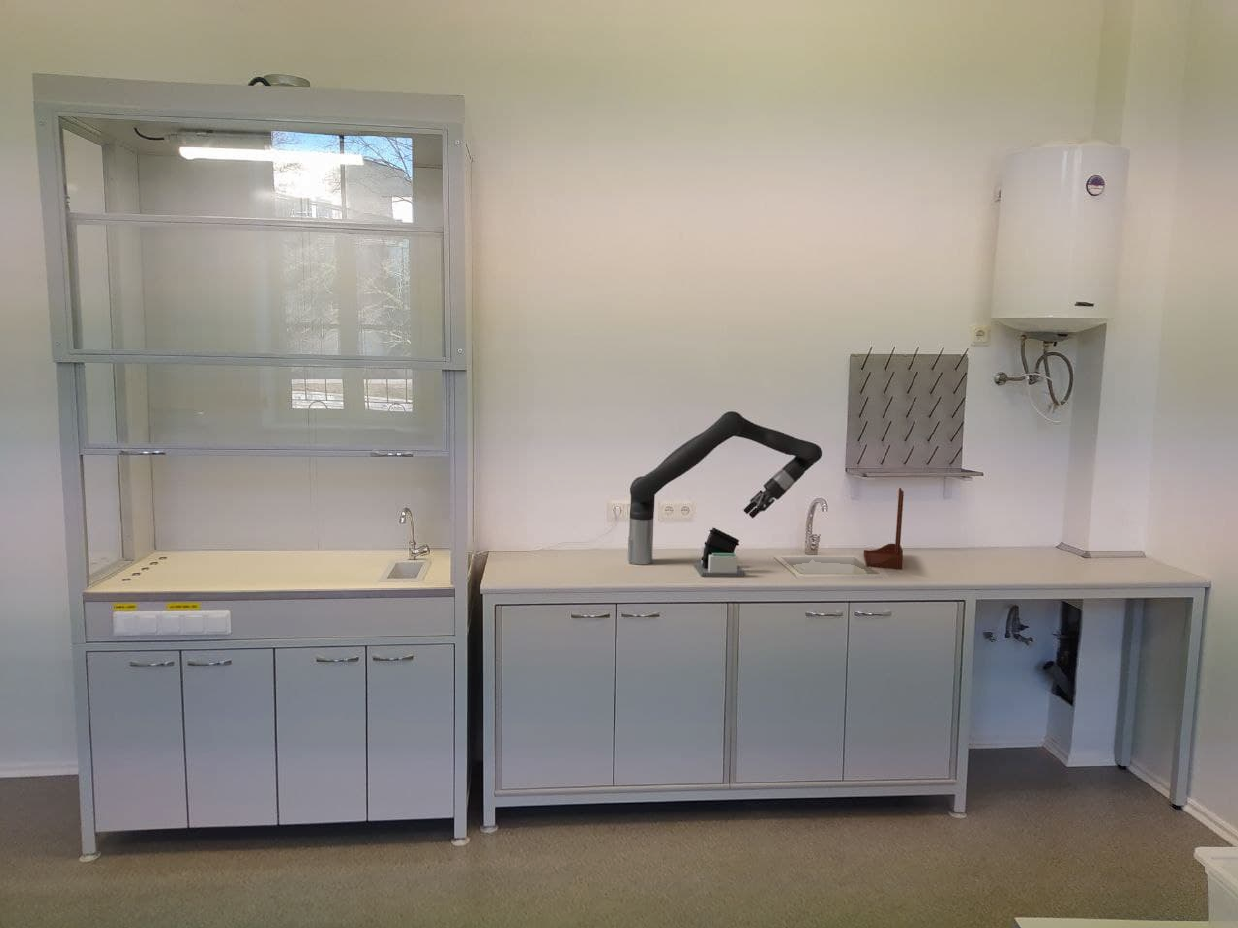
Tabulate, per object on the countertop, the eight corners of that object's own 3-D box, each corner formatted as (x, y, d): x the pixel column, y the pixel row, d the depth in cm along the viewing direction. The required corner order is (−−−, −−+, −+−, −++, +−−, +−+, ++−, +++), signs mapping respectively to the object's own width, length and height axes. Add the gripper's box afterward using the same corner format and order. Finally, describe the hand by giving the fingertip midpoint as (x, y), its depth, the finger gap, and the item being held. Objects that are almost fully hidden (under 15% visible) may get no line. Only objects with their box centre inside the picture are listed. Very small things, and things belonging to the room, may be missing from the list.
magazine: (693, 562, 288) (711, 526, 287) (723, 576, 290) (741, 541, 290) (696, 564, 284) (714, 528, 284) (726, 579, 287) (744, 543, 286)
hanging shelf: (863, 554, 325) (867, 483, 321) (896, 556, 322) (901, 485, 318) (866, 567, 302) (871, 491, 298) (901, 570, 298) (907, 493, 295)
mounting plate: (701, 577, 279) (702, 554, 278) (693, 565, 295) (694, 544, 295) (745, 577, 280) (746, 555, 279) (734, 565, 297) (735, 544, 296)
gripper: (767, 474, 292) (736, 504, 293) (778, 479, 278) (745, 510, 279) (780, 488, 293) (749, 518, 294) (791, 494, 279) (759, 525, 280)
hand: (747, 514), depth 286 cm, fingers open, 8 cm apart
